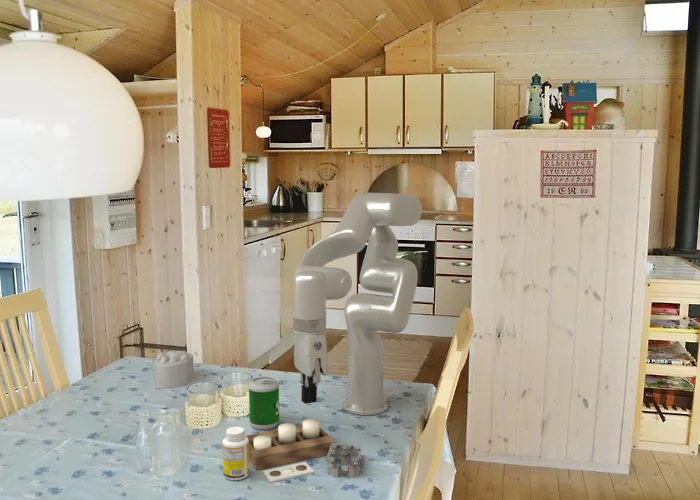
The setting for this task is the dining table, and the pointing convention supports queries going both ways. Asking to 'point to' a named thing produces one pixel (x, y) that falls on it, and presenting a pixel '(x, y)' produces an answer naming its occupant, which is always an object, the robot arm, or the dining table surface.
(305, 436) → the button
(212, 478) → the dining table surface
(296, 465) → the card
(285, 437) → the button middle
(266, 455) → the wooden compartment box
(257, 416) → the soda can
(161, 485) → the dining table surface
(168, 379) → the lumpy-topped squat cylinder
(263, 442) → the cream rounded cylinder
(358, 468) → the grey toy castle
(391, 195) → the robot arm
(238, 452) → the supplement bottle
